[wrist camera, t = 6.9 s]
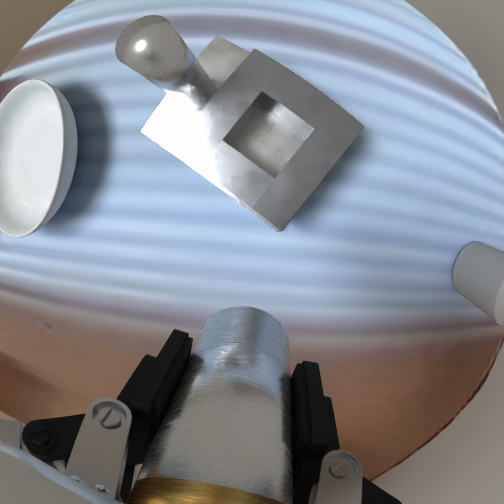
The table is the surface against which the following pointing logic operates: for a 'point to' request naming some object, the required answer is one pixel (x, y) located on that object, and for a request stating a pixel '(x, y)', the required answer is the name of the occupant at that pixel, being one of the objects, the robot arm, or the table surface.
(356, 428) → the table surface
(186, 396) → the gold and grey cylinder
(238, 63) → the grey block stand
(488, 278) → the can
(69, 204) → the table surface
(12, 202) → the serving bowl
